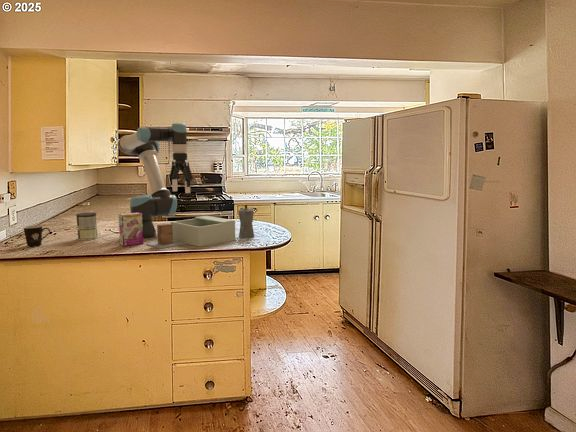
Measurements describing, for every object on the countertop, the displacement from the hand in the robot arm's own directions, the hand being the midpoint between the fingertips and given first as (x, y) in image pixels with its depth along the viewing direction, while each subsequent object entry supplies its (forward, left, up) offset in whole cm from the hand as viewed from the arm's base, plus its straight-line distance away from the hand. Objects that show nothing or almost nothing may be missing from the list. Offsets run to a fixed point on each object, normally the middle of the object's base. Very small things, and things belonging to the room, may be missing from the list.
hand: (181, 192), depth 261 cm
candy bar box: (-8, -26, -26) cm, 38 cm away
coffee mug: (-42, -61, -26) cm, 79 cm away
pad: (+5, -14, -26) cm, 30 cm away
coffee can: (-41, -35, -26) cm, 60 cm away
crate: (+9, +7, -26) cm, 28 cm away
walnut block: (+5, -14, -26) cm, 30 cm away
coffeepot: (+18, +30, -26) cm, 44 cm away
